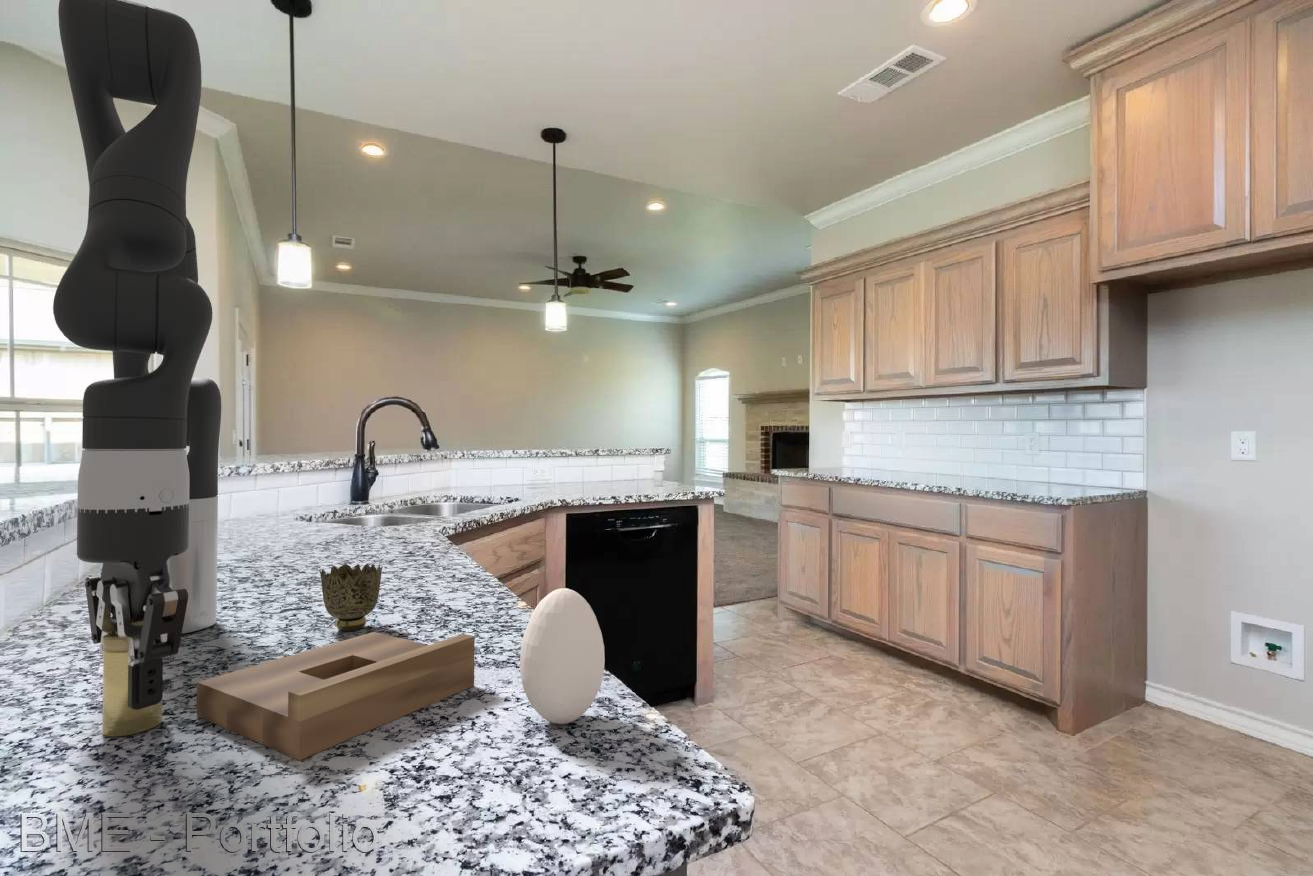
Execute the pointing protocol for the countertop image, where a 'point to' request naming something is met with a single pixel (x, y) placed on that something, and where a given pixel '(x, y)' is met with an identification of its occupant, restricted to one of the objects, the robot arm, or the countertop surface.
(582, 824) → the countertop surface
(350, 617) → the cup
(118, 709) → the brass cylinder peg
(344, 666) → the jig
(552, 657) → the egg
